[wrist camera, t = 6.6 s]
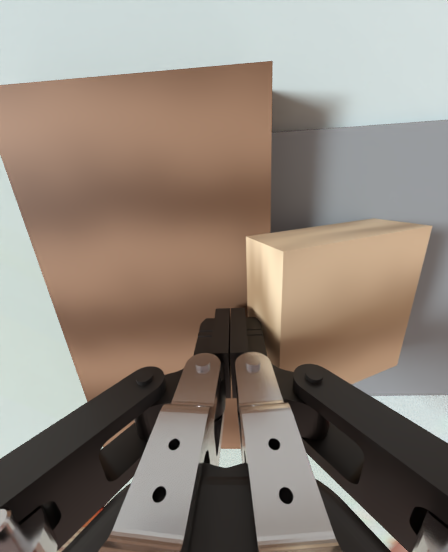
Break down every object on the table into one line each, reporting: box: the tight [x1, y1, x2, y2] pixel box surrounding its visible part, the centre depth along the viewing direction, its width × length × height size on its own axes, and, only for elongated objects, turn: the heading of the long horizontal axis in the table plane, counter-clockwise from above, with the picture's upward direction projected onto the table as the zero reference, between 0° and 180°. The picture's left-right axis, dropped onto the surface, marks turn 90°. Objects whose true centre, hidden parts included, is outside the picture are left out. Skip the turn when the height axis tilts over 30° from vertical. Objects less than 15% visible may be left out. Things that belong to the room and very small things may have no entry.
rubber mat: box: [270, 120, 448, 396], centre depth 16 cm, size 18×15×1 cm
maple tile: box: [246, 218, 432, 384], centre depth 13 cm, size 8×8×3 cm
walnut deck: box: [0, 61, 272, 449], centre depth 15 cm, size 22×12×3 cm, turn 3°
